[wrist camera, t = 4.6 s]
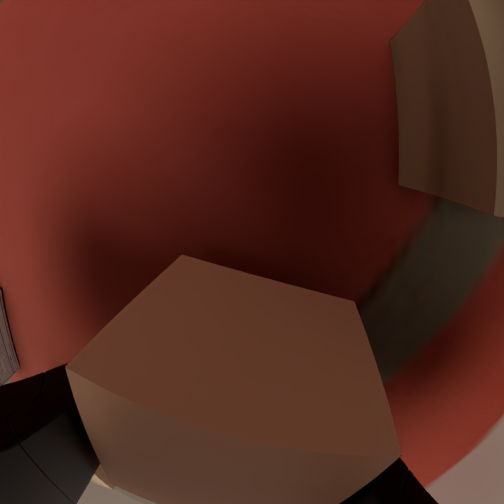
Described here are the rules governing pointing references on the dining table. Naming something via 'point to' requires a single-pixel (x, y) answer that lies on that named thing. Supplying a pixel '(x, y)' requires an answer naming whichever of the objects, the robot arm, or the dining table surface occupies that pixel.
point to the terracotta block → (234, 392)
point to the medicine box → (6, 349)
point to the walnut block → (452, 101)
